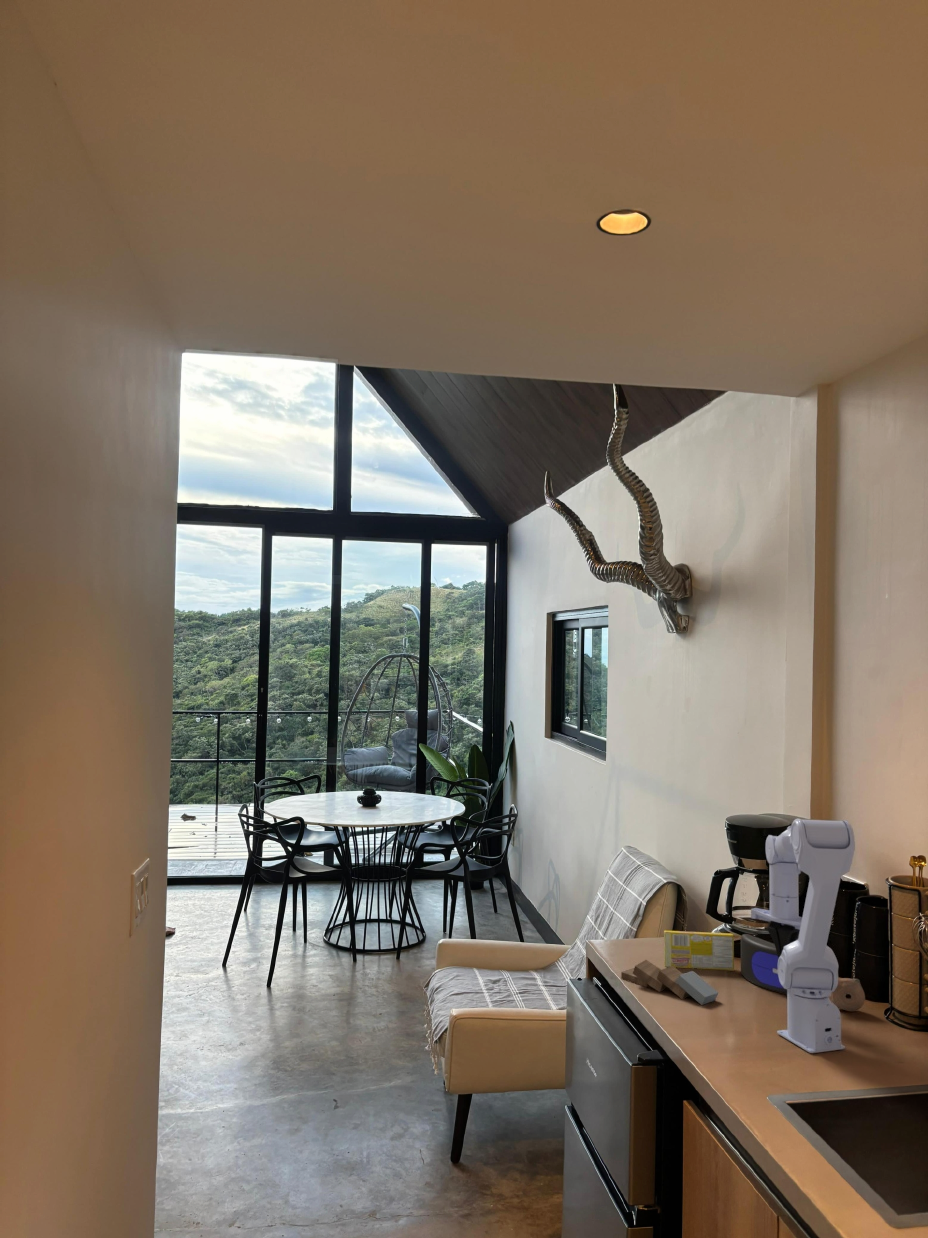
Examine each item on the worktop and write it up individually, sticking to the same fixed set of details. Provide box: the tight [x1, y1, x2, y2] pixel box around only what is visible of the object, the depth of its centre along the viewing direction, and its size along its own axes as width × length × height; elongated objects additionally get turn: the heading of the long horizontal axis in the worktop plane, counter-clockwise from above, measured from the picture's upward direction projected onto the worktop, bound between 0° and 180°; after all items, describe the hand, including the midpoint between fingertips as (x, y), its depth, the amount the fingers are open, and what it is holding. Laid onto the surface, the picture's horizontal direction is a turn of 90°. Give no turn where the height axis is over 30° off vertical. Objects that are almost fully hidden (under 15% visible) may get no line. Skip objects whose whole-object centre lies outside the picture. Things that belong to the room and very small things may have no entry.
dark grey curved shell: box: [740, 933, 787, 995], centre depth 191 cm, size 16×5×9 cm, turn 27°
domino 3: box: [657, 966, 692, 1000], centre depth 185 cm, size 2×5×7 cm
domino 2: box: [633, 959, 668, 993], centre depth 189 cm, size 2×5×7 cm
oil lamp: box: [831, 977, 866, 1012], centre depth 177 cm, size 9×4×8 cm, turn 80°
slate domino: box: [676, 970, 719, 1006], centre depth 181 cm, size 2×5×7 cm
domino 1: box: [620, 967, 651, 988], centre depth 192 cm, size 2×5×7 cm
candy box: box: [663, 930, 735, 972], centre depth 202 cm, size 16×2×8 cm, turn 84°
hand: (784, 961), depth 177 cm, fingers closed
